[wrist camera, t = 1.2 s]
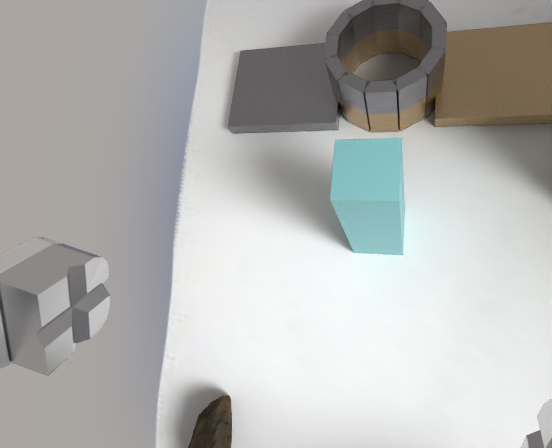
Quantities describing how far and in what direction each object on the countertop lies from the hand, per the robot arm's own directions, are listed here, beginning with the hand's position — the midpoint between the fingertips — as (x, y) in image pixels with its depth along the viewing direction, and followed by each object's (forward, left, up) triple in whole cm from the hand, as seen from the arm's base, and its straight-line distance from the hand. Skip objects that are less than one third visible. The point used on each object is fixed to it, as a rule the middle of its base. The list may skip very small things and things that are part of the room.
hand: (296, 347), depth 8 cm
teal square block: (+1, -13, -34) cm, 36 cm away
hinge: (+1, -29, -34) cm, 44 cm away
